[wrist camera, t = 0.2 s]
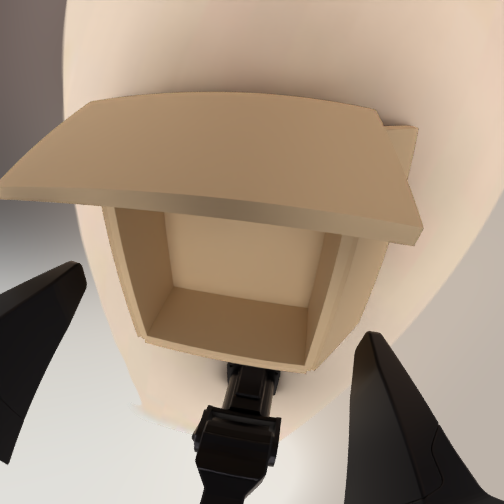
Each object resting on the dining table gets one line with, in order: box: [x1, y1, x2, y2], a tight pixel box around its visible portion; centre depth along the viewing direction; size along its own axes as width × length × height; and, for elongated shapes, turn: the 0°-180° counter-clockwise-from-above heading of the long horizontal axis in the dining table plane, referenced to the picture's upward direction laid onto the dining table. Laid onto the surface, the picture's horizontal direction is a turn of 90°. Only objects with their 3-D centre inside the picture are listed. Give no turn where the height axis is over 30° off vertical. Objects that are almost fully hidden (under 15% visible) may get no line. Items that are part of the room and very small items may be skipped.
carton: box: [102, 126, 418, 374], centre depth 21 cm, size 22×22×7 cm
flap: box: [0, 92, 423, 246], centre depth 9 cm, size 7×13×1 cm
